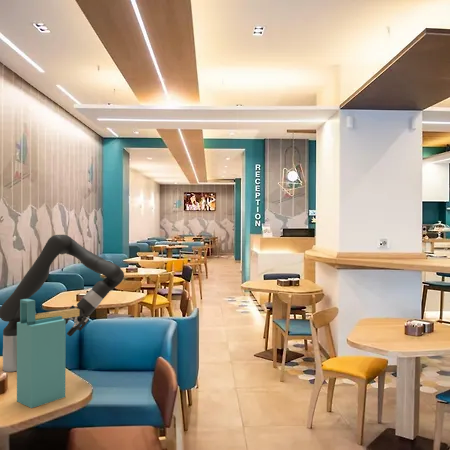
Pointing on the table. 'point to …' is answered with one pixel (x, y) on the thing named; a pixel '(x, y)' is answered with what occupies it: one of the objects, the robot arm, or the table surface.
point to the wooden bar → (58, 314)
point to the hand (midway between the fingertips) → (64, 331)
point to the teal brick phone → (40, 357)
